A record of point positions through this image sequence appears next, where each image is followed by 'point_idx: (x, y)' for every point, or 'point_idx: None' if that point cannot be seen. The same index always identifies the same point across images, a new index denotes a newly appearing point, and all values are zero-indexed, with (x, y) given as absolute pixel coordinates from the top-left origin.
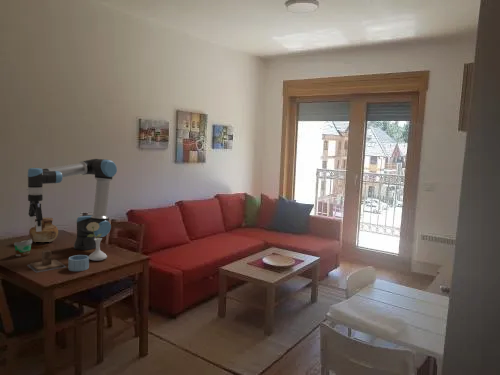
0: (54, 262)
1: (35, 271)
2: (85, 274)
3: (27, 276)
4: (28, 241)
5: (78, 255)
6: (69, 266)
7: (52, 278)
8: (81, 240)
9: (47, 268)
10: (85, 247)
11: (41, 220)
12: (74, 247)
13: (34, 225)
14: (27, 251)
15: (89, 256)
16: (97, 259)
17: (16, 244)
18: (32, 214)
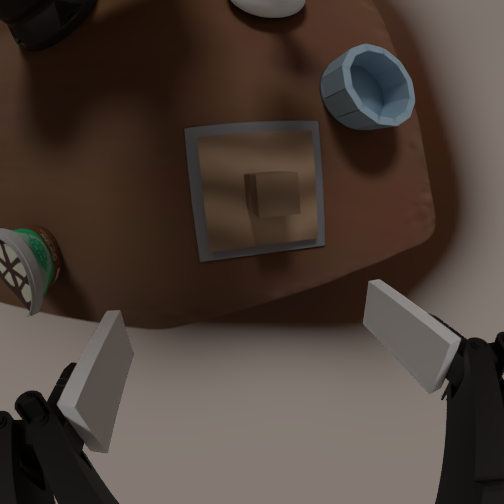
0: (253, 152)
1: (311, 244)
2: (413, 108)
3: (340, 274)
4: (19, 255)
5: (350, 66)
6: (371, 128)
7: (400, 207)
8: (56, 5)
9: (314, 198)
10: (87, 4)
11: (474, 338)
12: (43, 46)
13: (116, 325)
14: (46, 244)
15: (266, 10)
16: (303, 4)
17: (38, 306)
18: (89, 467)
